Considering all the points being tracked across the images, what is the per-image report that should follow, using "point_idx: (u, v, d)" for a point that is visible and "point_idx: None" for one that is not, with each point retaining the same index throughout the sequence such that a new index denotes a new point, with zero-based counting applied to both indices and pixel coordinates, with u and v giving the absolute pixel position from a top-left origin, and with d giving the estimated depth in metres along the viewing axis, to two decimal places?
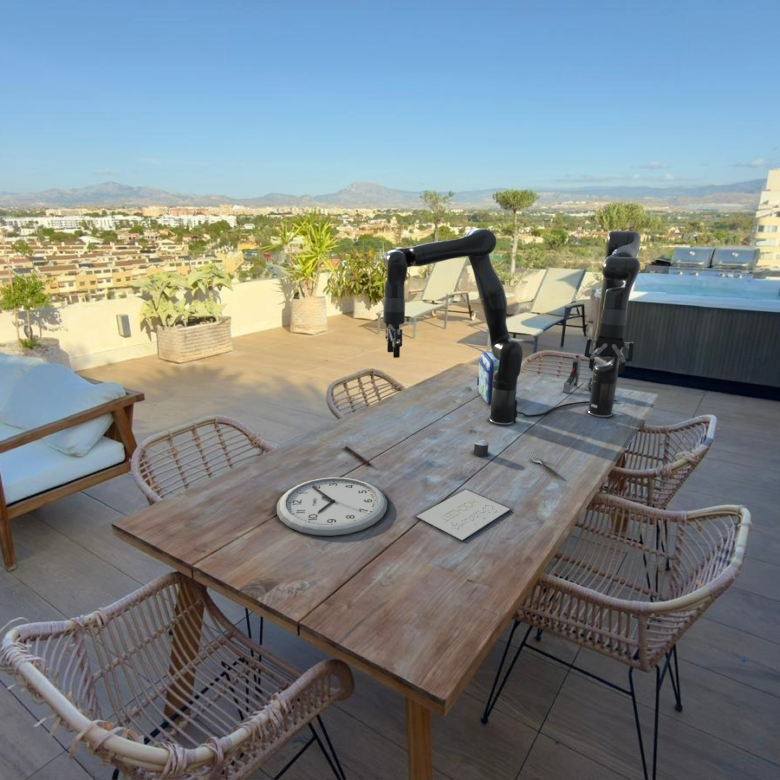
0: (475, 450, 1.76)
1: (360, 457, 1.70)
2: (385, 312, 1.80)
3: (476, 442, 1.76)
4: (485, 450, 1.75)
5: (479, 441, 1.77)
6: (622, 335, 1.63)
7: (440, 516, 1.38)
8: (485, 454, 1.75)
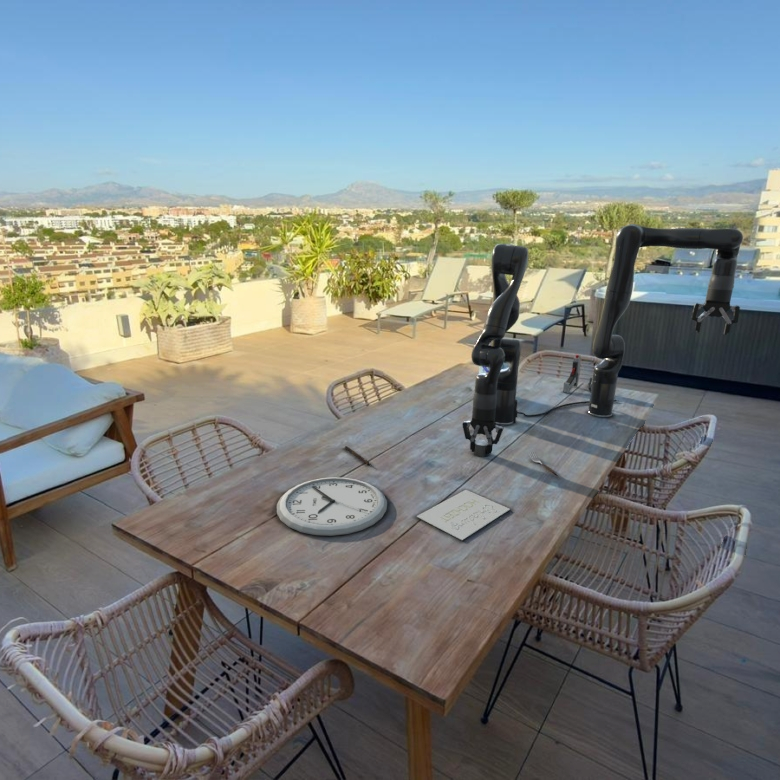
0: (475, 450, 1.76)
1: (360, 457, 1.70)
2: None
3: (476, 442, 1.76)
4: (485, 450, 1.75)
5: (479, 441, 1.77)
6: (729, 299, 1.82)
7: (440, 516, 1.38)
8: (485, 454, 1.75)
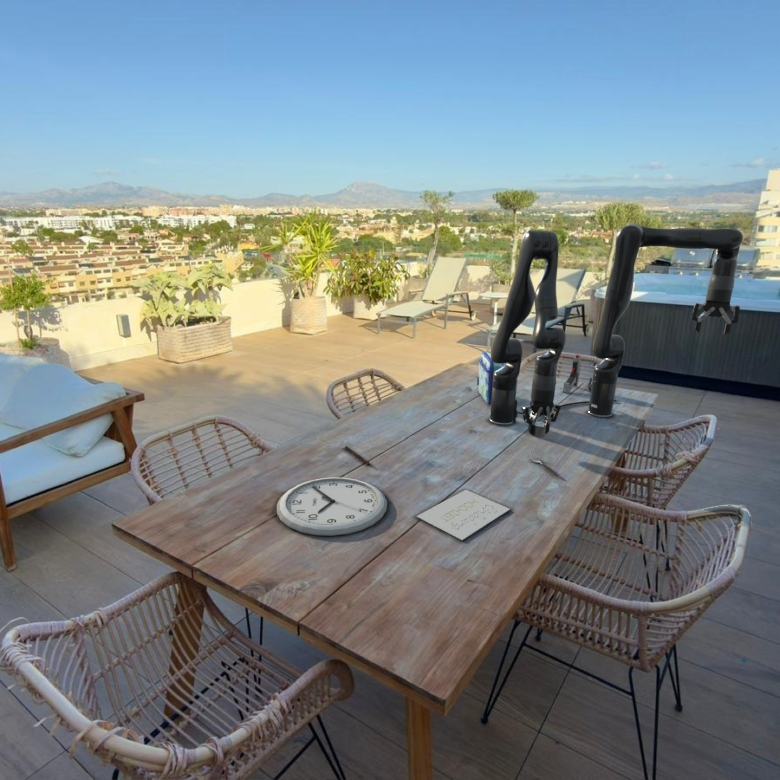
0: (537, 432, 1.78)
1: (360, 457, 1.70)
2: None
3: (535, 424, 1.78)
4: (545, 430, 1.79)
5: (536, 423, 1.80)
6: (729, 299, 1.82)
7: (440, 516, 1.38)
8: None
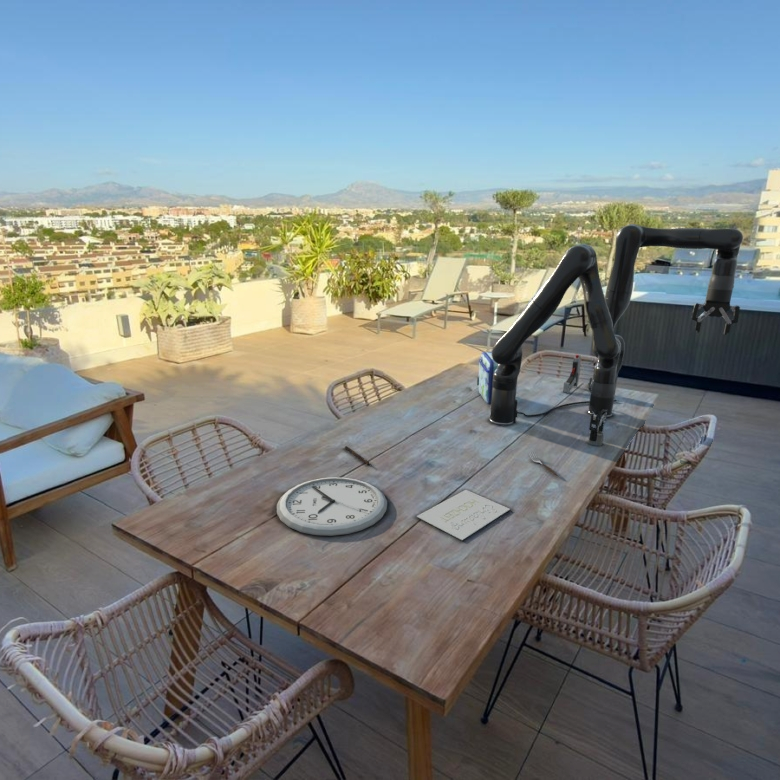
0: (599, 441, 1.85)
1: (360, 457, 1.70)
2: None
3: (597, 434, 1.85)
4: None
5: None
6: (729, 299, 1.82)
7: (440, 516, 1.38)
8: None
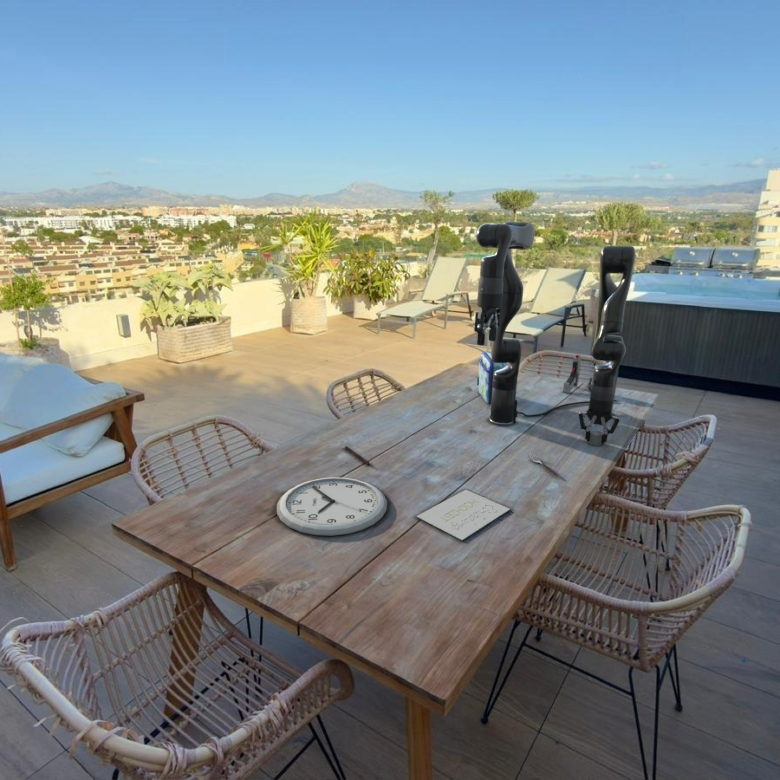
0: (599, 441, 1.85)
1: (360, 457, 1.70)
2: None
3: (597, 434, 1.85)
4: None
5: (593, 432, 1.86)
6: (610, 409, 1.81)
7: (440, 516, 1.38)
8: None
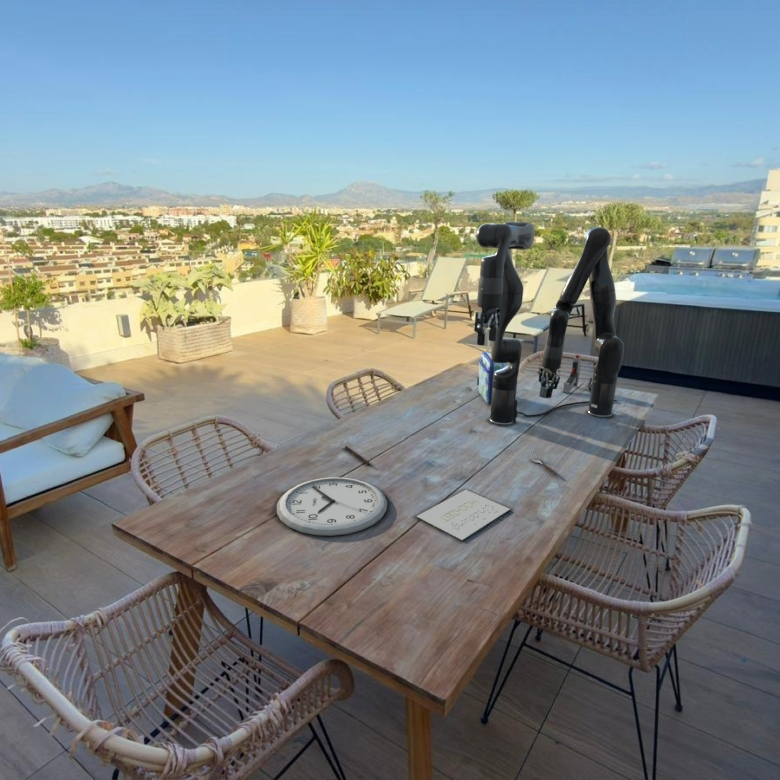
0: (543, 393, 2.18)
1: (360, 457, 1.70)
2: None
3: (543, 387, 2.18)
4: None
5: (544, 386, 2.19)
6: (550, 366, 2.12)
7: (440, 516, 1.38)
8: None
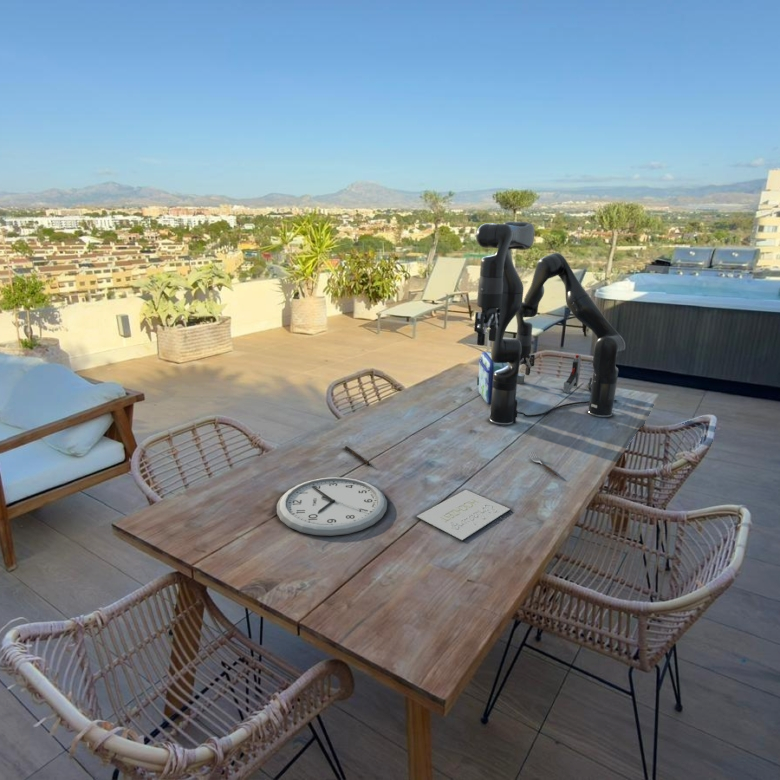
0: None
1: (360, 457, 1.70)
2: None
3: None
4: (518, 379, 2.57)
5: (520, 374, 2.60)
6: None
7: (440, 516, 1.38)
8: (518, 382, 2.58)
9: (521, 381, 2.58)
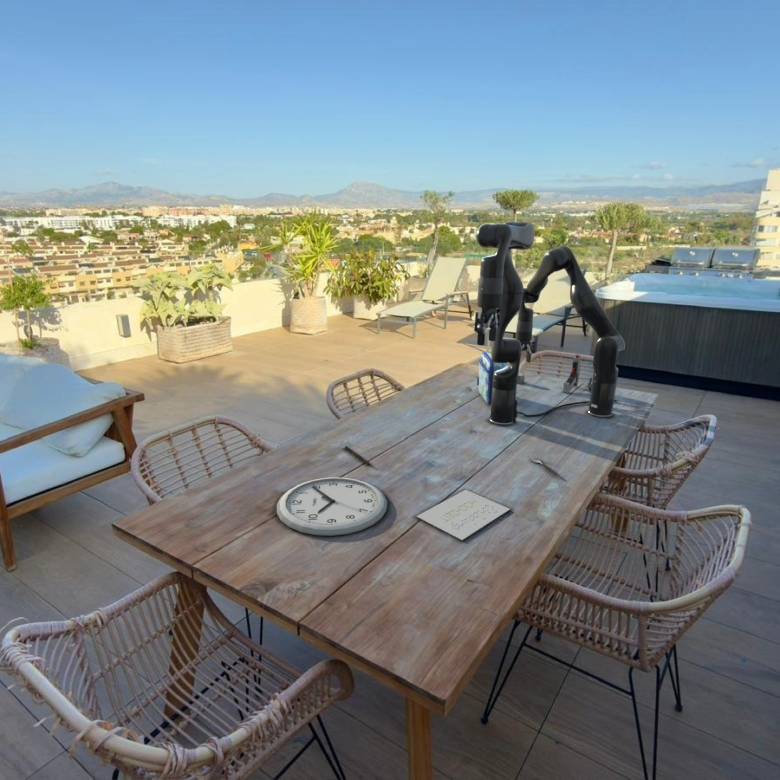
0: None
1: (360, 457, 1.70)
2: None
3: None
4: (518, 379, 2.57)
5: (520, 374, 2.60)
6: None
7: (440, 516, 1.38)
8: (518, 382, 2.58)
9: (521, 381, 2.58)
